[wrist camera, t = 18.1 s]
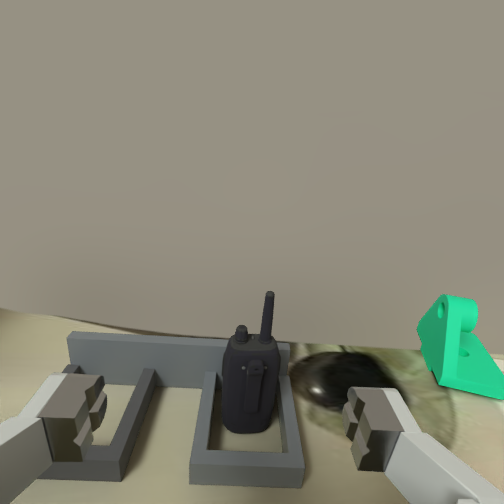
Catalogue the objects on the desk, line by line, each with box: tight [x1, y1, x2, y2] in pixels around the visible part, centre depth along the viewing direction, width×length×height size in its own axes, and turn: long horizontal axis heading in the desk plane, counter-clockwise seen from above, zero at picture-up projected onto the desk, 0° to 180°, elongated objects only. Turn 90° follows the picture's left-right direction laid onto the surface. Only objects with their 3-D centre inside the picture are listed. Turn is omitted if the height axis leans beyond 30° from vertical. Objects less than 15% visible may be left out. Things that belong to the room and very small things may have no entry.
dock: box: [67, 331, 305, 488], centre depth 29 cm, size 24×11×7 cm, turn 91°
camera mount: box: [417, 294, 504, 400], centre depth 40 cm, size 12×8×10 cm, turn 165°
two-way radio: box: [222, 291, 281, 433], centre depth 28 cm, size 6×4×15 cm
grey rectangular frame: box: [37, 364, 156, 482], centre depth 29 cm, size 9×10×2 cm
